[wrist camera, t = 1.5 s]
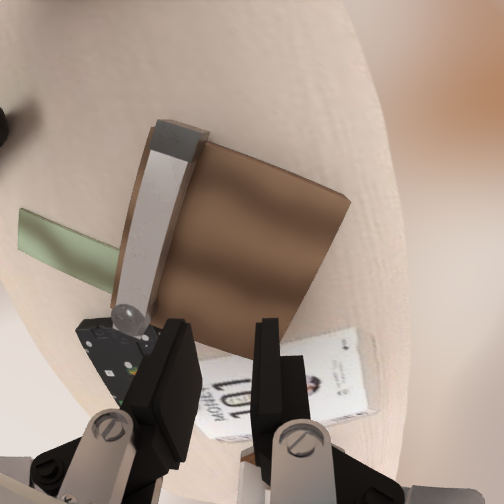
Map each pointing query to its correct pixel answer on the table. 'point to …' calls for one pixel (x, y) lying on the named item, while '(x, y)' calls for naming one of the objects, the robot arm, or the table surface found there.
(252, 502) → the gray dispenser tower
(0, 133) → the controller
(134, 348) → the disk drive
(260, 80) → the table surface
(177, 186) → the folding leg
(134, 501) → the robot arm
